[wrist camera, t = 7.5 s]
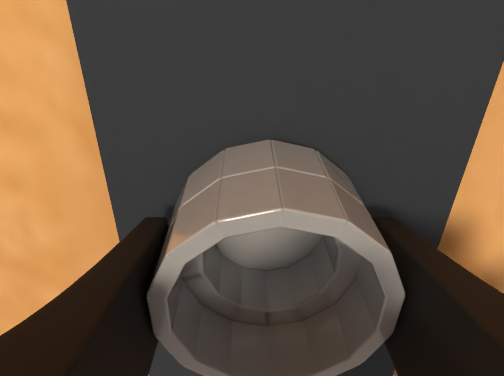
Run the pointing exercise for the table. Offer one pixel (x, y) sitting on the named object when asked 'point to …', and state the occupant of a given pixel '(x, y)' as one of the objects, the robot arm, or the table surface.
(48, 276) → the table surface
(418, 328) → the robot arm
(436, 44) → the place mat
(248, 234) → the cup
